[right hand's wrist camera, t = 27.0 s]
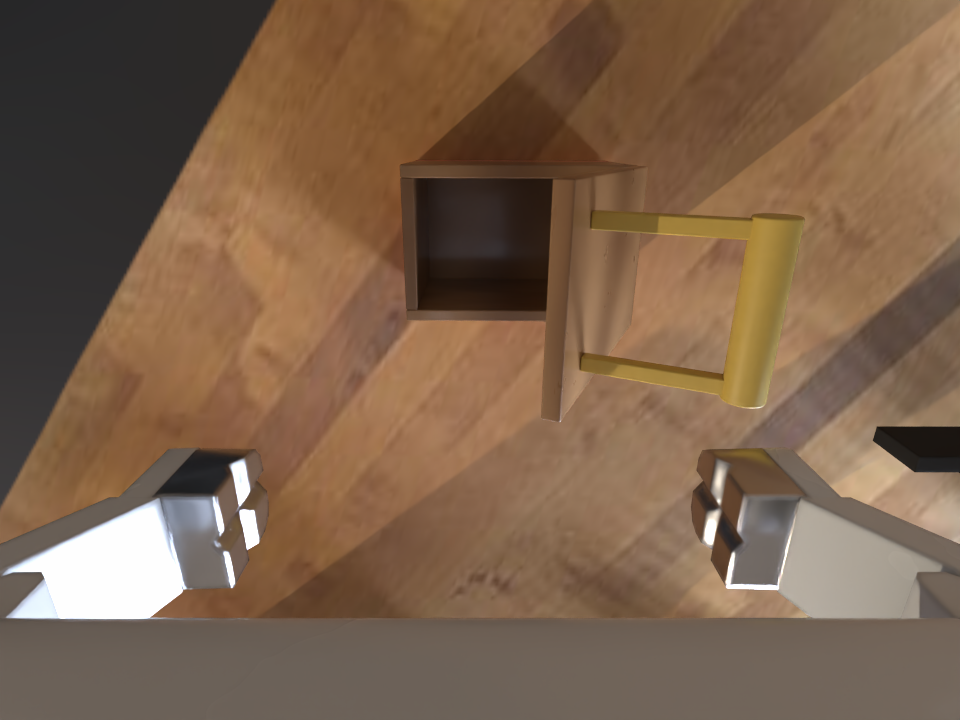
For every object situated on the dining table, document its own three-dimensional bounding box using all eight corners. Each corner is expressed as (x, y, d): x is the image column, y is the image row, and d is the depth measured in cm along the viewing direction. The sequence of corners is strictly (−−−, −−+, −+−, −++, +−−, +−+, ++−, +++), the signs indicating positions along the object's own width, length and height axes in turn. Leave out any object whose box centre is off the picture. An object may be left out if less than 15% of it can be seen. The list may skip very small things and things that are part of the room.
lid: (540, 419, 23) (759, 466, 20) (552, 178, 19) (820, 185, 16) (617, 323, 35) (760, 342, 32) (633, 165, 32) (794, 168, 29)
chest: (421, 285, 45) (406, 321, 36) (417, 159, 41) (399, 164, 32) (594, 286, 45) (622, 322, 36) (604, 160, 41) (638, 165, 32)
